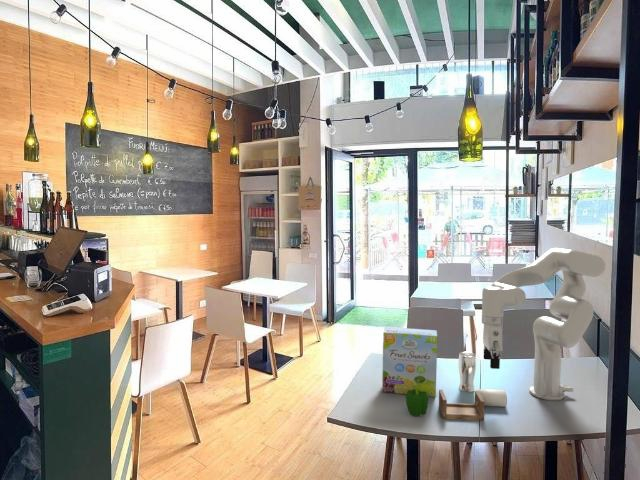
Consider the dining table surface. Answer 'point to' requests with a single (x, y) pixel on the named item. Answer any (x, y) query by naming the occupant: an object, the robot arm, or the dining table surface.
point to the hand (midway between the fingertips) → (491, 363)
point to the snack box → (409, 360)
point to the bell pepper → (417, 401)
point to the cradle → (462, 408)
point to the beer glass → (467, 371)
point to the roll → (494, 397)
